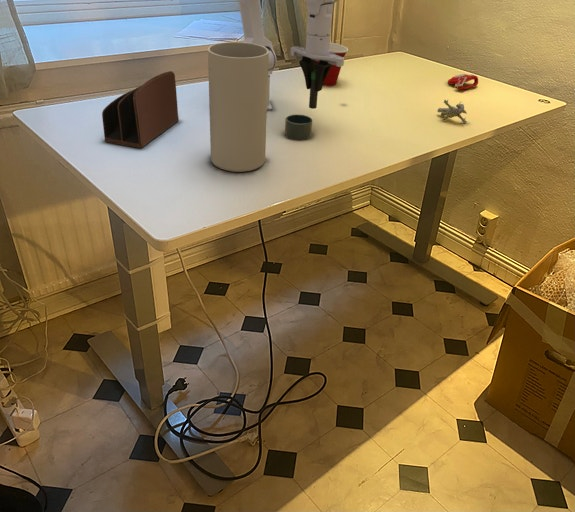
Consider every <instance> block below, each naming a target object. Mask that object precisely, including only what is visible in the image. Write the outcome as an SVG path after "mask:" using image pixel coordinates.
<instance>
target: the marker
mask: <svg viewBox="0 0 575 512" xmlns="http://www.w3.org/2000/svg"><path fill="white" fill-rule="evenodd" d="M315 81H316V75H315V71H313V72H311V85H310V89H309V100H308V108H309V109H311V110H313V109H317V105H318V95H319V91H318V92H317V91H315Z"/></svg>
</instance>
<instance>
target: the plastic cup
mask: <svg viewBox="0 0 575 512" xmlns="http://www.w3.org/2000/svg"><path fill="white" fill-rule="evenodd" d="M329 52H330V53H333V54H335V55H338V56H341V57H344V58H345V56H346V54H347V53H348V52H349V48H348V47H347V46H344V45H342V44H340V43H335V42H330V44H329ZM317 63H319V61H317ZM341 70H342V66H341V67H337V66H336V65H333V66H332V67H331V69H330V70H329V72H328V74H327V76H326V78H325V81H324V83H323V86H322V87H334V86H336V85H337V83H338V79H339V75H340V72H341Z"/></svg>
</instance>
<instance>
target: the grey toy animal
mask: <svg viewBox="0 0 575 512" xmlns="http://www.w3.org/2000/svg"><path fill="white" fill-rule="evenodd" d="M443 103H444V104H445V105H446V106H447V108H446V107H439V108H438V109H437V113H440V116H441V117H444V118H443V119H442V120H441V121H445V120H447V119H448V118H449V119H453V118H455V117H458V118H459V119H460V120H461V122H462V123H463V124H467V120H466V117H465V118H463V117H462V114H465V115H467V113H468V112H467V110H465V104H464V103H462V101H460V102H459V103H457V104H456V105H455V106H452V105H450V104H449V99H444V101H443Z"/></svg>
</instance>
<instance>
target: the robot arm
mask: <svg viewBox="0 0 575 512" xmlns="http://www.w3.org/2000/svg"><path fill="white" fill-rule="evenodd" d="M260 2H261V1H260V0H238V6H239V12H240V18H241V25H242V29H243V30H242V31H243V36H244V39H243V41H242V42H244V43H252V44H257V45H261V46H263V47H265V48H267V49H268V50H269V60H268V90H267V111H271V110H273V106H272V104H271V102H270V90H271V89H270V85H271V75H272V74H273V71H274V70H275V68H276V66H277V64H278V63H277V62H278V61H277V60H278V59H277V55H276V53H275V52H276V51H275V50H274V47H273V42H272V41H271V40H270V39H269V38H267V36H265V30H264V24H263V17H262V16H263V15H262V11H261V4H260ZM337 2H338V0H305V3H306V12H307V23H306V24H307V25H306V40H305V47H302V46H296V45H294V46H291V47H290V53H289V54H290V56H292V57H300V58H301V60H299V61H298V64H299V66H300V68H301V70H302V73H303V76H304V81H305V88H306V90H310V85H311V72H313V71H315V75H316V81H315V91H317V92H318V93H319V92H320V91H323V90H322V89H323V87H324V86H323V83H324V81H325V78H326V76H327V74H328V72H329V70H330V69H331V67H332V66H333V65H336V66H337V67H341V68H342V67H344V65H345V56H344V57H341V56H338V55H335V54H333V53H330V52H329V44H330V43H331V31H332V22H333V21H332V20H333V10H334V5H335V3H337ZM317 61H319V63H317Z"/></svg>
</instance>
